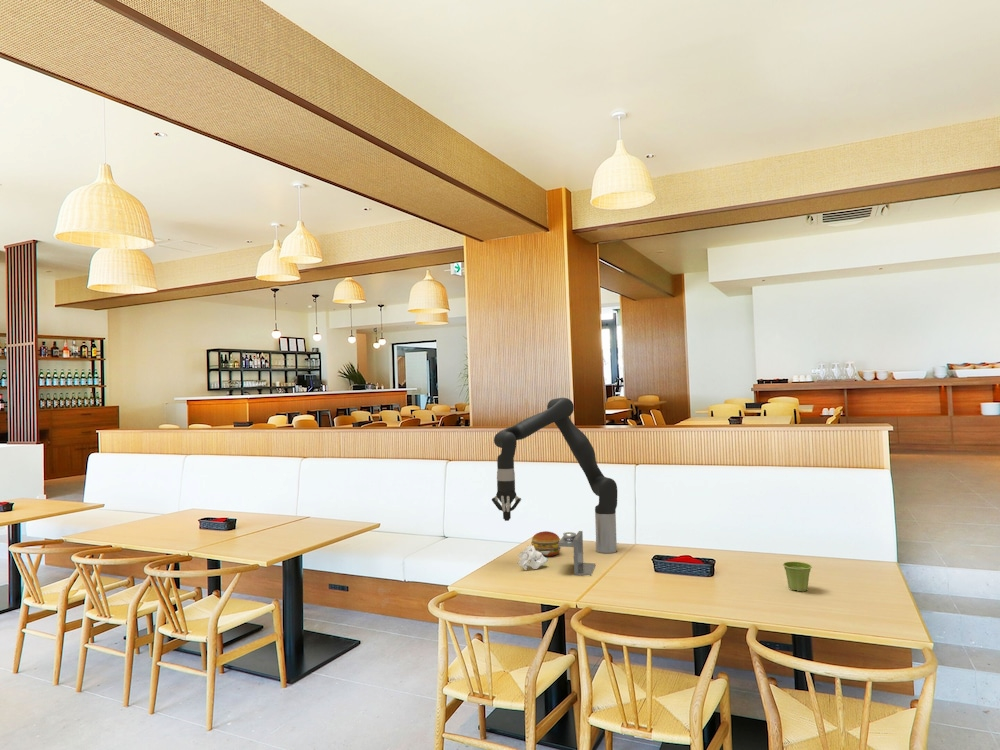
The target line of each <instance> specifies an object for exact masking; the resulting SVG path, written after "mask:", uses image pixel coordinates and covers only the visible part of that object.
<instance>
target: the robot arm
mask: <svg viewBox="0 0 1000 750" xmlns="http://www.w3.org/2000/svg"><path fill="white" fill-rule="evenodd" d="M546 408H547V409H546V410H544V411H542V412H539V413H537V414H534V415H532V416H530V417H527V418H525V419H523V420H522V421H519V422H518V423H516V424H515V425H512V426H510V427H507V428H505V429H501V430H499V432H497V433H496V434H495V435H494V437H493V443H494V445H495V447H497V448H499V449H500V448H501V449H500V451H501V452H500V454H498V456H497V458H496V459H497V461H496V464H497V465H496V466H497V469H496V470H497V471H496V484H497V485H496V489H497V491H496V495H495V496H494V497H492V498H491V502H492V503H493V504H494V505H495V507H496V508H497V509H498V511H502V519H503V520H504V522H507V521H508V522H509V521H510V520H511V516H512V515H511V512H512V511H514V510H515V509H516V508H517V506H518V505H519V504H520V503H521V501H522V498H521V497H519V496H517V493H516V474H515V473H516V472H515V461H514V460H515V455H516V449H517V441H522V440H524V439H526V438H528V437H529V436H531V435H533V434H535V433H536V432H538V431H540V430H541V429H543V428H545V427H547V426H549V425H551V424H553V423H554V424H555V426H556V427H557V428H558V431H560V433H561V435H562V437H563V438H564V440H565V442H566V444H567V445H568V447H569V449H570V451H571V453H572V454H573V457H574V458H575V459H576V461H577V463H578V465H579V466H580V468H581V470H582V471H583V474H584V475H585V478H586V479H587V482H588V484H589V486H590V489H591V491H592V493H593V494H594V495H595V496H597V497H598V504H597V505H596V506H595V507H594V515H595V516H594V517H595V546H596V547H595V551H596V552H598V553H601V554H614V553H616V552H617V549H618V547H617V516H616V515H617V513H616V511H617V507H618V486H617V485H618V484H617V482H616V481H615V480H614V479H613V478H611V477H606V476H605V475H604V474H603V473H602V470H600V468H599V466H598V463H597V459H596V452H595V449H594V447H593V445H592V444H591V442H590V440H589V438H588V437H587V436H586V434H585V433H584V432H583V431H582V430H581V429H579V428H578V427H577V426H576V425H575V424H574V423H573V421H572V420H571V418H570V416H572V414H574V413H573V412H574V409H575V406H574V403H573V401H572V400H571V399H569V398H566V397H558V398H553V399H550V400H549V401H548V403H547V406H546ZM513 501H514V503H513ZM512 503H513V505H512Z"/></svg>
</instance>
